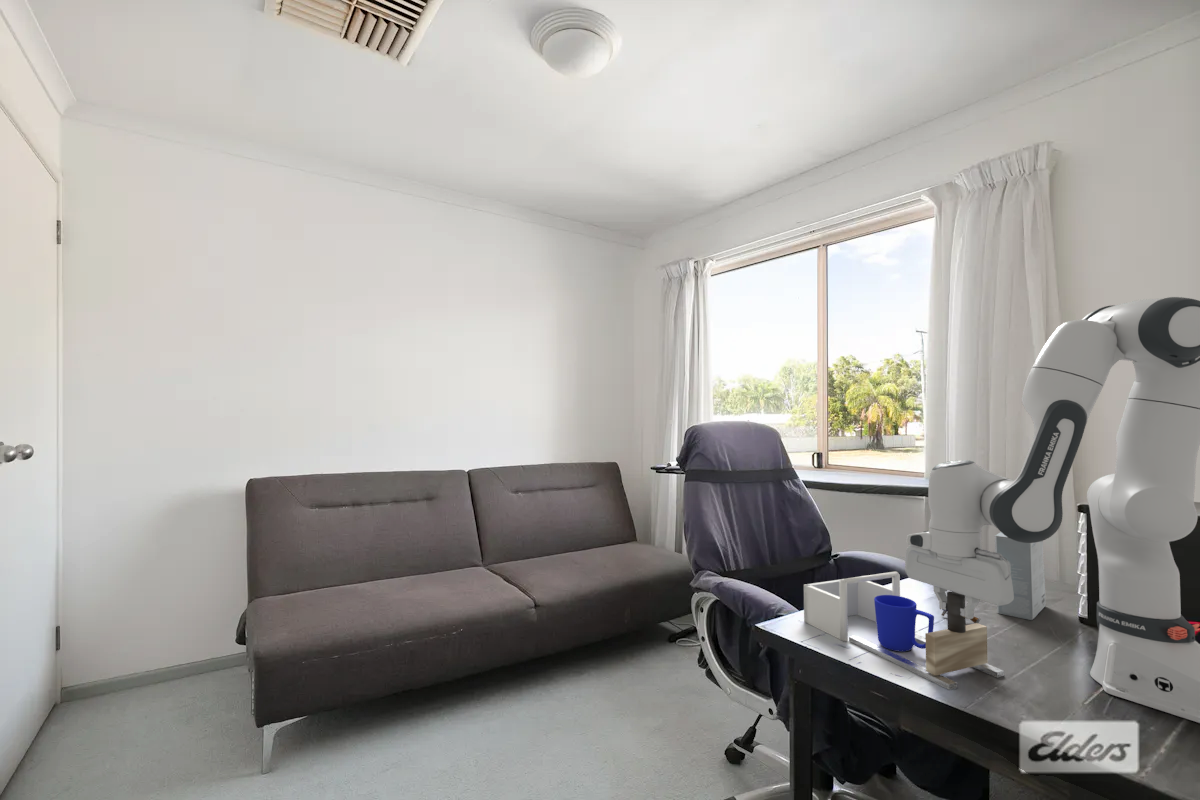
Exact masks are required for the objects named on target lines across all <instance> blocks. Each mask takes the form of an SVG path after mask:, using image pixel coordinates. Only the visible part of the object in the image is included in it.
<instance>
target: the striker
mask: <svg viewBox="0 0 1200 800" xmlns="http://www.w3.org/2000/svg"><path fill="white" fill-rule="evenodd" d="M946 596H947V614H946V615H947V617H946V619H947V628H945V629H941V630H940V629H939V630H936V631H933V632H930V633H928V632H926V633H925V637H924V638H925V639H926V648H925V668H926V671H927V672H929V673H931V674H933V675H935V676H936V675H943V674H947V673H951V672H956V671H960V670H964V669H969V668H973V666H977V665H982V664H986V663H987V664H989V662H988V627H987V626H986V625H984V624H980V623H971V624H966V618H964V617H961V615H960V613H961V612H960V608H964V607H966V601H965V595H962V594H959V593H956V592H952V591H946Z"/></svg>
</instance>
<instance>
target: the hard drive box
mask: <svg viewBox="0 0 1200 800" xmlns="http://www.w3.org/2000/svg"><path fill="white" fill-rule="evenodd" d="M994 552H997V553H1000V554H1002V556H1003V557H1005V558H1006V559H1007V560H1008V561H1009V563H1010V569H1011V579H1012V585H1013V592H1014V600H1013V601H1012V602H1011V603H1010V604H1007V605H1001V606H998V605H996V612H997V614H999V615H1005V616H1009V617H1014V618H1019V619H1024V620H1027V621H1028V620H1029V621H1033V620H1034V619H1035V618H1036V617H1037V616H1038V614H1039V613H1040V612H1041V611H1042V610H1043V609H1044V608H1045V607H1046V604H1047V602H1046V579H1045V577H1046V576H1045V559H1044V557H1045V556H1044V554H1045V553H1044V540H1043V541H1040V542H1035V543H1023V542H1018V541H1015V540H1012V539H1010V538H1008V537H1007V536H1005V535H1004V534H1003V533H1002V532H1001V531H999V533H997V534H996V535H994ZM1001 560H1003V559H1001Z"/></svg>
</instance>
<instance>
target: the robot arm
mask: <svg viewBox="0 0 1200 800" xmlns="http://www.w3.org/2000/svg"><path fill="white" fill-rule="evenodd" d="M1119 361H1128V362H1129V361H1130V362H1132V365H1133V367H1134V372H1135V375H1134V376H1135V377H1134V378H1135V379H1134V381H1133V383H1132V386H1131V388H1130V390H1129V394H1128V396H1127V399H1126V403H1125V407H1124V410H1123V413H1122V417H1121V419H1120V423H1119V426H1118V429H1117V432H1116V436H1115V444H1116V458H1115V459H1116V461H1115V469H1114V472H1113V473H1110V474H1107V475H1103V476H1100V477H1099V478H1097V479H1096V480H1094V481H1093V482H1092V483H1091V484H1090V486H1089V487H1088V489H1087V493H1086V500H1087V504H1088V508H1089V514H1090V515H1089V516H1090V522H1091V527H1092V528H1091V529H1092V535H1093V539H1094V545H1095V549H1096V555H1097V565H1098V587H1099V588H1098V590H1099V591H1098V592H1099V600H1098V601H1097V602H1096V625H1097V629H1098V639H1097V644H1096V645H1097V646H1096V652H1095V657H1094V661H1093V663H1092V666H1091V669H1090V672H1089V675H1090V676H1091V677H1092V679H1094V681H1096V682H1097V683H1098V684H1100V685H1101V686H1102V689H1103V690H1104V692H1105V693H1107V694H1109V695H1112V696H1115V697H1118V698H1121V699H1125V700H1126V701H1127V700H1128V701H1131V702H1134V703H1136V704H1140V705H1143V706H1146V707H1149V708H1153V709H1154V710H1158V711H1161V712H1165V713H1168V714H1171V715H1174V716H1177V717H1180V718H1183V719H1186V720H1189V721H1193V722H1196V723H1198V724H1200V643H1199V642H1198V641H1197V640H1196V632H1198V631H1200V628H1199V627H1200V624H1199V623H1195V624H1191V623H1190V622H1189V621H1188V620H1186V618H1185V617H1184V616H1183V615H1182V614H1181V611H1182V609H1181V579H1180V578H1181V577H1180V576H1181V574H1180V570H1179V567H1178V566H1177V564H1176V562H1175V560H1174V559H1175V558H1174V555H1173V552H1172V549H1171V545H1170V544H1171V542H1175V541H1178V540H1181V539H1183V538H1185V537H1187V536H1188V535H1190V534H1191V533H1192V532H1193V531H1194V529H1195V528H1196V526H1197V522H1198V519H1199V517H1198V510H1197V508H1196V504H1195V491H1196V490H1195V489H1196V472H1197V471H1196V468H1197V458H1198V453H1199V448H1200V300H1198V299H1194V298H1190V297H1189V298H1188V297H1182V296H1181V297H1179V296H1170V297H1169V296H1168V297H1163V298H1146V299H1145V298H1144V299H1136V300H1133V301H1129V302H1124V303H1119V304H1116V305H1115V304H1113V305H1107V306H1106V305H1105V306H1102V307H1100V308H1098V309H1095V310H1092V311H1091V312H1089V313H1088V314H1086V315H1085V316H1084V317H1083V318H1082V319H1073V320H1069V321H1066V322H1063V323H1062V324H1060V325H1058V326H1057V328H1056V329H1055V330H1054V331H1053V333H1051V335H1050V336H1049V337H1048V339H1047V341H1046V342H1045V344H1043V347H1042V348H1041V349H1040V351H1039V353H1038V355H1037V357H1036V359H1035V361H1034V363H1033V365H1032V366H1031V369H1030V371H1029V373H1028V375H1027V378H1026V381H1025V383H1024V387H1023V390H1022V395H1021V403H1022V406H1023V408H1024V410H1025V412H1026V413H1027V415H1029V417H1030V419H1031V421H1032V423H1033V430H1034V431H1033V432H1034V433H1033V436H1032V437H1033V438H1032V441H1031V444H1030V446H1029V449H1028V452H1027V453H1026V457H1025V459H1024V462H1023V464H1022V467H1021V470H1020V472H1019V474H1018V476H1017V477H1016V479H1013V478H1008V477H1005V476H1003V475H1000V474H998V473H994V472H992V471H990V470H988V469H985V468H984V467H982V466H980V465H978V464H977V463H976V462H974V461H972V460H968V459H967V460H965V459H962V460H957V459H956V460H950V461H945V462H941V463H938V464H936V465H935V466H934V467H933V468H932V469H931V471H930V474H929V479H928V488H927V489H928V493H927V497H928V502H927V503H928V507H929V511H930V519H929V523H928V530H925V531H922V532H916V533H910V534H907V535H906V539H905V540H906V543H907V545H908V546H907V547H906V549H905V557H904V562H905V563H904V567H905V568H904V571H905V574H906V575H907V577H908V578H909V579H911V580H914V581H917V582H921V583H925V584H927V585H930V586H933V592H934V594H935V597H936V598H937V600H938V601H939V602H938V604H939V607H938V608H939V610H941V611H947V592H956V593H959V594H962V595H965V602H967V603H966V604H965V607H964V608H960V612H961V613H960V615H961V617H964V618H965V620H966V619H967V620H970V619H973V618H974V617H975V609H976V608H977V606H978V605H979V603H980V602H985V603H988V604H991V605H994V606H997V605H998V606H1001V605H1007V604H1010V603H1011V602H1012V601H1013V600H1014V592H1013V585H1012V579H1011V569H1010V563H1009V561H1008V560H1007V559H1006V558H1005V557H1003V556H1002V554H1000V553H997V552H995V551H990V550H987V549H983V546H982V545H983V542H982V539H983V537H982V533H983V532H982V527H984V526H993V527H994V528H996V529H998V531H999V532H1002V533H1003V534H1004V535H1005V536H1007V537H1008V538H1010V539H1012V540H1015V541H1018V542H1023V543H1035V542H1040V541H1043V542H1044V541H1045V540H1047V539H1049V538H1051V537H1053V536H1054V534H1056V532H1058V531H1059V529H1060V527H1061V525H1062V522H1063V514H1064V513H1063V491H1064V487H1065V485H1066V481H1067V479H1068V476H1069V474H1070V471H1071V469H1072V466H1073V463H1074V461H1075V458H1076V456H1077V453H1078V450H1079V447H1080V445H1081V442H1082V439H1083V436H1084V432H1085V429H1086V426H1087V423H1088V420H1089V418H1090V416H1091V413H1092V411H1093V409H1094V406H1095V405H1096V402H1097V400H1098V399H1099V396H1100V394H1101V392H1102V390H1103V388H1104V386H1105V384H1106V381H1107V379H1108V377H1109V373H1110V372H1111V369H1112V368H1113V367H1114V366H1115V364H1116V363H1118V362H1119ZM1001 559H1003V560H1001Z"/></svg>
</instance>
